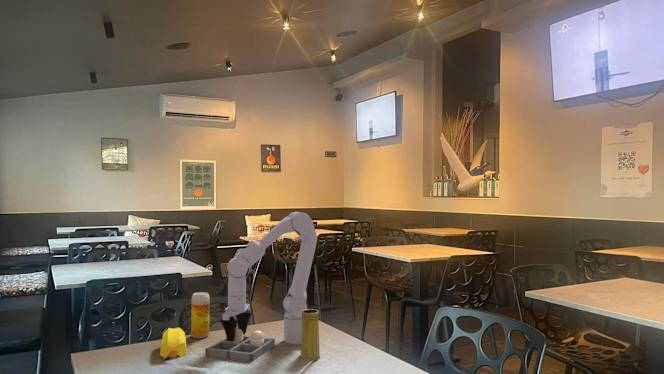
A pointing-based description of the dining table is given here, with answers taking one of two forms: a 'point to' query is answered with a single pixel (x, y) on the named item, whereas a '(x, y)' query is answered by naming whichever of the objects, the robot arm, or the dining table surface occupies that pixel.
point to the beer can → (200, 315)
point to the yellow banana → (173, 343)
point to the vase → (310, 334)
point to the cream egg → (257, 338)
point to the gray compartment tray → (239, 349)
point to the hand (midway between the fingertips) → (236, 337)
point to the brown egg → (238, 336)
